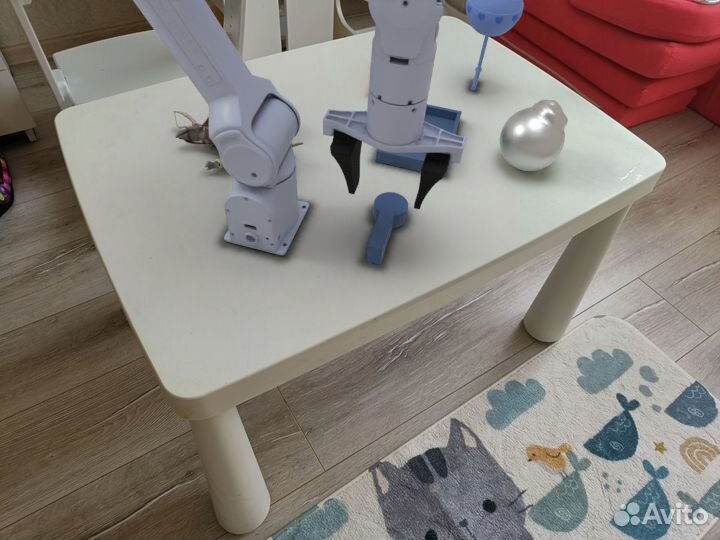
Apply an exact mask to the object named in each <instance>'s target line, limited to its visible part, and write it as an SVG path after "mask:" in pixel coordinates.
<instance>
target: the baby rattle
mask: <svg viewBox="0 0 720 540" xmlns="http://www.w3.org/2000/svg"><path fill="white" fill-rule="evenodd" d="M524 7H525V2H524V0H466V1H465V12H466V17H467V18H466V19H467V20H468V23H469V25H470V26H471V27H472V29H473V30H474V31H475V32H476V33H478V34H480V35H482V36H484V37H483V38H484V39H483V43H482V45H481V46H482V48H481V51H480V55H479V58H478V63H477V66H476V67H475V68H474V71H475V72H474V73H475V74H474V77H473V80H472V84H471V91H476V89H477V85H478V83H479V79H480V75H481V72H482V70H483V69H482V68H483V67H482V65H483V60H484V58H485V53H486V49H487V45H488V41H489V37H499V36H502V35H504V34H506V33H508V32H509V31H511V29H512V28H514V26H515V25H516V24H517V22H519V21H520V19H521V17H522V15H523V12H524Z"/></svg>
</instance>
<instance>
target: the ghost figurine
mask: <svg viewBox="0 0 720 540" xmlns="http://www.w3.org/2000/svg"><path fill="white" fill-rule="evenodd" d="M568 121H569V120H568V117H567V115H566V114H565V113H564V111H563V108H562V106H561V104H560V103H559V102H557V101H556V100H553V99H541V100H539V101H538V102H536V103H534V104H533V105H532V106H530V107H525V108H523V109H520V110H518V111H516V112H515V113H514V114H512V115H511V116H510V117H509V118H508V119H507V120H506V122H505V123H504V125H503V127H502V128H501V131H500V133H499V150H500V152H501V155H502V157H503V158H504V160H505V161H506V163H508V164H509V165H510V166H511V167H513V168H515V169H517V170H520V171H524V172H537V171H539V170H544V169H545V168H547V167H549V166H550V165H551V164H553V163H554V162H555V161H556V160H557V159H558V158H559V156H560V155H561V153H562V151H563V149H564V147H565V146H564V145H565V141H566V133H565V128H566V126H567V124H568Z"/></svg>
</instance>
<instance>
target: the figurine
mask: <svg viewBox="0 0 720 540" xmlns="http://www.w3.org/2000/svg"><path fill="white" fill-rule="evenodd" d="M172 112H173V115H174V120H175V124H176V126H177V128H178V129H179V130H178V131H177V132H176V134H175V137H174V138H175V139H179V140H182V141H184V142H186V143H188V144H191V145H208V146H212V145H213V146H215V144H214V143H213V142H212V140H211V139H210V137H209V116H207V117H206V119H205V120H204V121H203V123H198V122H197V120H196V119H194V118H193V117H192V116H191V115H189V114H188V113H187V112H183V111H178V110H173V111H172ZM176 113H177V114H180V115H182V116H184V118H186V119H188V120H189V121H190V122H191V123H192V124H191V125H190V124H189V125H181V126H179V125H178V122H177V118H176V117H177V116H176ZM199 141H201V142H199ZM301 145H304V142H302V141H300V142H295V143H294V142H293V143H292V148H294V147H298V146H301ZM205 162H206V163H204V165H205V166H204V168H207V169H206V171H210V170H213V169H223V168H224V167H223V165H222V163H221V160H220V158H216V159H215V160H214V161H210V160H206V161H205Z"/></svg>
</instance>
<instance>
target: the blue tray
mask: <svg viewBox="0 0 720 540" xmlns="http://www.w3.org/2000/svg"><path fill="white" fill-rule="evenodd" d="M461 116H462V110H458V109H457V110H456V109H452V108H447V107H442V106H437V105H433V104H428V103H427V106H426V112H425V117H424V121H425V122H427V123H429V124H431V125H434V126H436V127H438V128H440V129H443V130H445V131H447V132H450V133H452V134H455V135H457V132H458V128H459V124H460V121H461ZM425 157H426V153H391V152H386V151H382V150H379V149H377V148H376V155H375V163H376V162H377V163H380V164H385V165H389V166H392V167H393V166H394V167H398V168H401V169H402V168H403V169H407V170H411V171H416V172H420V173H421V169H422V166H423V163H424V160H425ZM445 177H446V174H445V175H444V176H443V178H445Z"/></svg>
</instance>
